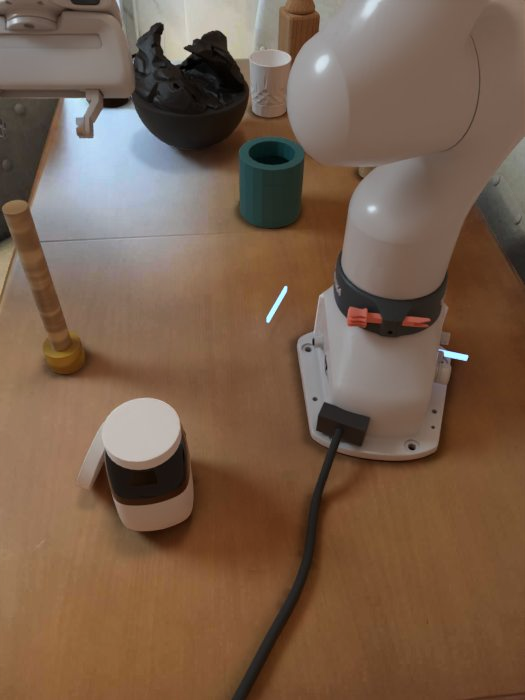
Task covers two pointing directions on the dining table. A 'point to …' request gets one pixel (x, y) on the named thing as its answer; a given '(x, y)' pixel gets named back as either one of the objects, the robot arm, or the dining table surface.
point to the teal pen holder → (271, 181)
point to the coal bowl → (189, 91)
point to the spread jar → (143, 464)
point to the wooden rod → (43, 291)
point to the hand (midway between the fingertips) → (40, 137)
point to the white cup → (269, 82)
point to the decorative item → (297, 26)
